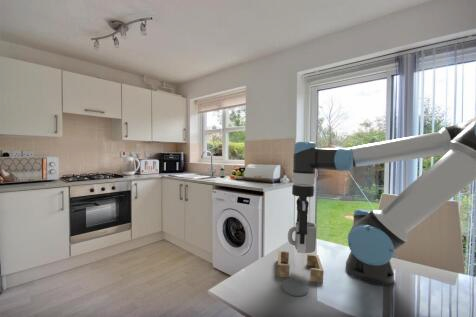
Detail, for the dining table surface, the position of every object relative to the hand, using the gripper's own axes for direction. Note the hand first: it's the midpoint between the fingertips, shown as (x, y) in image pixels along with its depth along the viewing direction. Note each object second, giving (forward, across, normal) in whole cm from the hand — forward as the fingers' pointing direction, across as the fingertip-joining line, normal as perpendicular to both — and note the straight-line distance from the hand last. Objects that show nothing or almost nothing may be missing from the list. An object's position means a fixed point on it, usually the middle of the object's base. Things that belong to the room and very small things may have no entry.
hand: (300, 247), depth 83 cm
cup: (0, 0, 0) cm, 1 cm away
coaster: (+8, +12, -2) cm, 15 cm away
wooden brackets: (+8, 0, 0) cm, 8 cm away
